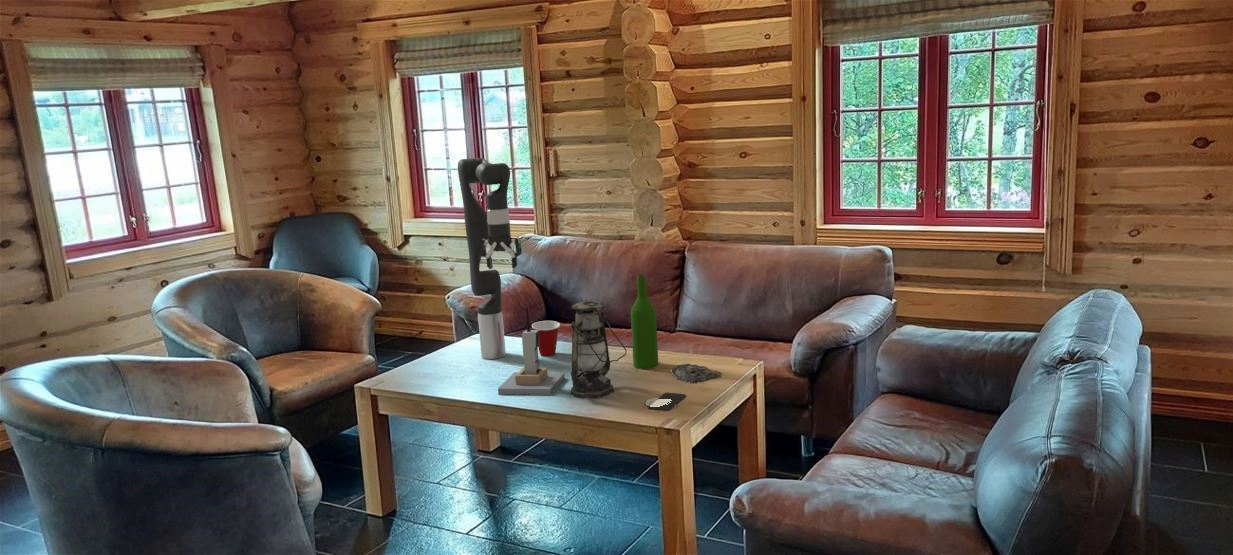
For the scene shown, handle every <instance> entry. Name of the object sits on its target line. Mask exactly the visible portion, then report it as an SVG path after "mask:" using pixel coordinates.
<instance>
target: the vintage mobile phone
mask: <svg viewBox="0 0 1233 555" xmlns="http://www.w3.org/2000/svg"><path fill="white" fill-rule="evenodd" d="M525 311H526V312H525V315H526V328H527V329H526V330H524V331H523V332H522V333H521V341H522V342H521V344H522V354H523V355H522V356H523V368H524V370H525V375H537V374H538V373H539V372H540V369H539V368H540V360H539V348H538V345H539V330H533V329H530V328H531V327H530V320H529V308H528V307H525Z"/></svg>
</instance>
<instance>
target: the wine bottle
mask: <svg viewBox="0 0 1233 555" xmlns="http://www.w3.org/2000/svg"><path fill="white" fill-rule="evenodd" d="M636 278H637V280H636V281H637V283H636V284H637V298H636V299H635V302H634V303H633V304H632V307H631V309H630V310H631V311H630V325H631V326H630V327H631V343H632V344H631V345H632V361H633V362H632V365H633V368H635V369H638V370H650V369H651V370H652V369H654V368H657V367H658V366H659V352H658V350H659V349H658V348H659V346H658V331H657V330H658V329H657V312H656V307H655V306H654V304H653V303H652V302H651V300H650V299H649V297H648V294H647V293H648V292H647V279H646V278H647V276H646V275H645V274H639V275H637V276H636Z"/></svg>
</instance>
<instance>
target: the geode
mask: <svg viewBox="0 0 1233 555" xmlns="http://www.w3.org/2000/svg"><path fill="white" fill-rule="evenodd" d="M671 370H672V373H673V375H672V376H674V375H675V376H676V377H675V376H674V377H675V378H676V380H677V379H678V380H680V381H679V382H683V381H684V382H683V383H688V382H690V383H689V384H692V383H693V384H694V383H695V384H699V383H698V382H700V383H703V382H706V381H708V380H710V379H717V377H719V378H721V377H722V372H720V371H717V370H712V369H709V368H708V367H707V366H705V365H701V366H700V365H697V364H691V363H683V364H678V365H675V366H674V367H673V368H672V369H671ZM678 380H677V381H678ZM702 381H703V382H702Z"/></svg>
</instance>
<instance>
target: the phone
mask: <svg viewBox="0 0 1233 555" xmlns="http://www.w3.org/2000/svg"><path fill="white" fill-rule="evenodd" d="M686 396H687V395H686V394H685V393H679V392H678V393H677V392H664V393H663V394H662V395H660V396H659V397H658V398H657V399H671V400H672V401H670V402H671V403H669V402H668V403H669V404H668V403H667V404H668V405H666V404H665V405H663V406H660V407H650V405H648V407H647V409H648V410H652V409H653V411H662V410H663V411H664V412H669V411H671V410H672V409H674V406H675V405H676V406H677V405H678V404H679V403H680V402H682V401H683V400H684V399H685V398H686ZM676 406H675V407H676ZM654 409H655V410H654Z"/></svg>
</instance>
